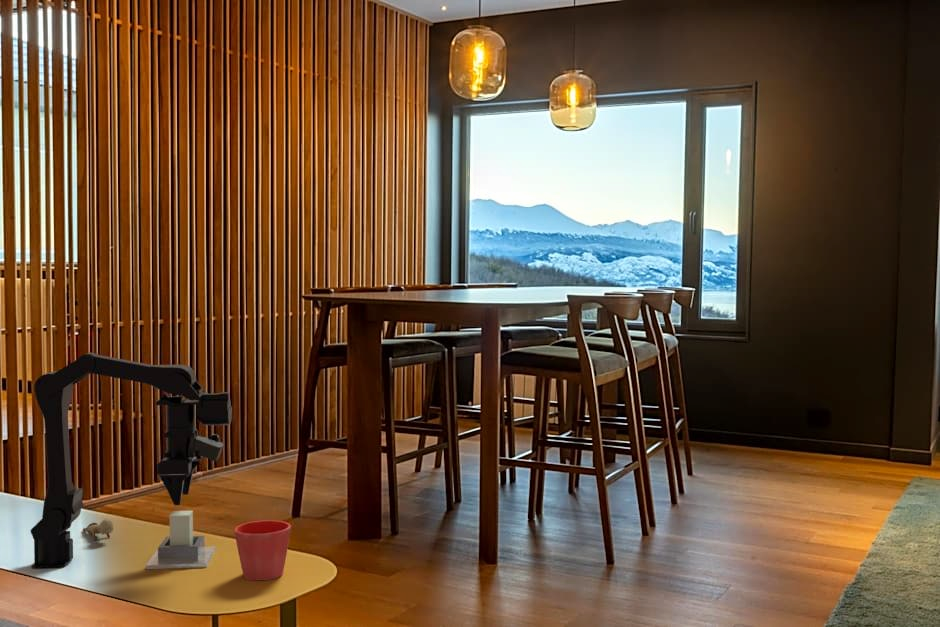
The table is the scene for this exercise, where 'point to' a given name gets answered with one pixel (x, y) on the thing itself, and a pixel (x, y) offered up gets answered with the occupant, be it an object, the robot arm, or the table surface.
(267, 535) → the flower pot
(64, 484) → the robot arm
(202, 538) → the bracket
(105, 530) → the figurine
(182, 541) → the rail post
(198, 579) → the table surface
